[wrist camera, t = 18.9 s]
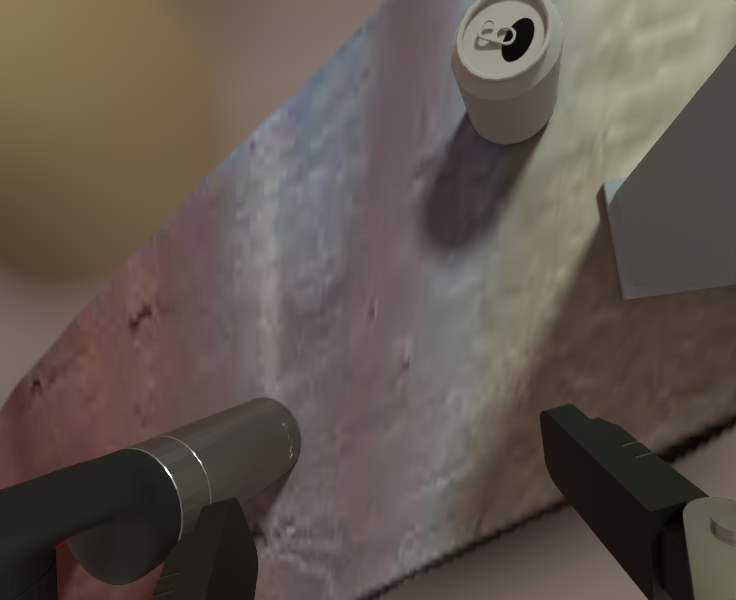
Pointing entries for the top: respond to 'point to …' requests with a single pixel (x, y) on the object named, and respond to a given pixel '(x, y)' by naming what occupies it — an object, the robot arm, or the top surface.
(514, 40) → the can
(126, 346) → the top surface
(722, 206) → the stand
